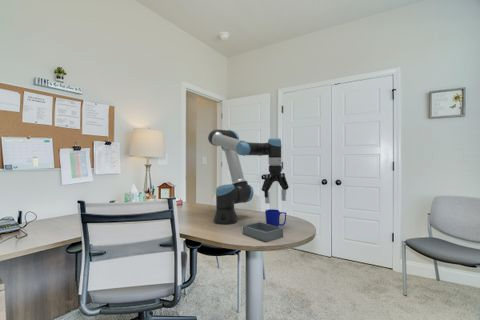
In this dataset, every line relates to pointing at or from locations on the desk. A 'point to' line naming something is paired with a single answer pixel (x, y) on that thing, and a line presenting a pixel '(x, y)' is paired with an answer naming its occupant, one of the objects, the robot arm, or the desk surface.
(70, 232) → the desk surface
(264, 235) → the tray
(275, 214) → the mug
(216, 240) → the desk surface
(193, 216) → the desk surface
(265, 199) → the robot arm
